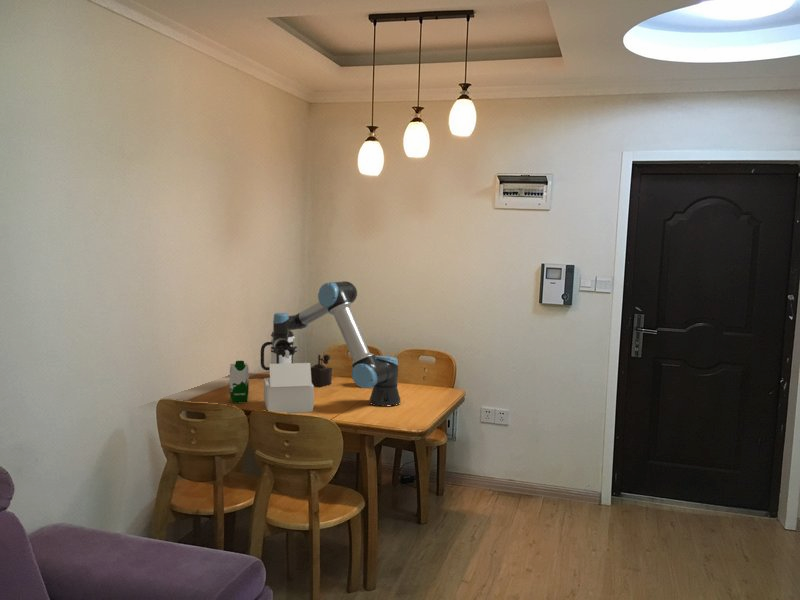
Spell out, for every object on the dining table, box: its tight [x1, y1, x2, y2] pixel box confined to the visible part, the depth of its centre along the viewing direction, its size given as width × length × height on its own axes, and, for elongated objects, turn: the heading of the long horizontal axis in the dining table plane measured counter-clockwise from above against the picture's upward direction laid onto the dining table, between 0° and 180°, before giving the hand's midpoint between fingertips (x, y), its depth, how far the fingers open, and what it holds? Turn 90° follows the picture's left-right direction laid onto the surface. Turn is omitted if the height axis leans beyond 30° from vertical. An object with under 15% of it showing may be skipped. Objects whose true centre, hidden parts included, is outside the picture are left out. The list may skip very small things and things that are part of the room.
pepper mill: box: [311, 354, 333, 388], centre depth 361 cm, size 16×11×18 cm
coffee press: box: [260, 330, 296, 377], centre depth 376 cm, size 17×16×30 cm
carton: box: [263, 377, 315, 414], centre depth 313 cm, size 22×21×12 cm
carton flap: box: [268, 362, 312, 388], centre depth 303 cm, size 11×19×1 cm
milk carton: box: [229, 360, 250, 404], centre depth 321 cm, size 9×9×20 cm
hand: (287, 355), depth 311 cm, fingers closed
